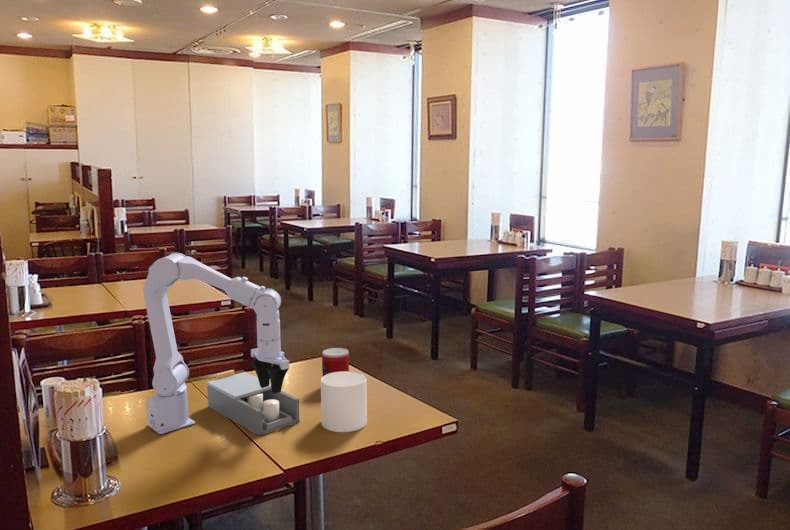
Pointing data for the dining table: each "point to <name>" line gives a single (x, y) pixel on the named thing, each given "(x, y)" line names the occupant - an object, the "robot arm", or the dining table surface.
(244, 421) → the housing
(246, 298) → the robot arm
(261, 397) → the white rounded tapered block
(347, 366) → the canned food
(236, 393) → the lid
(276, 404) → the white rounded cylinder
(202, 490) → the dining table surface
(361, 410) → the white cylinder
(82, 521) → the dining table surface
